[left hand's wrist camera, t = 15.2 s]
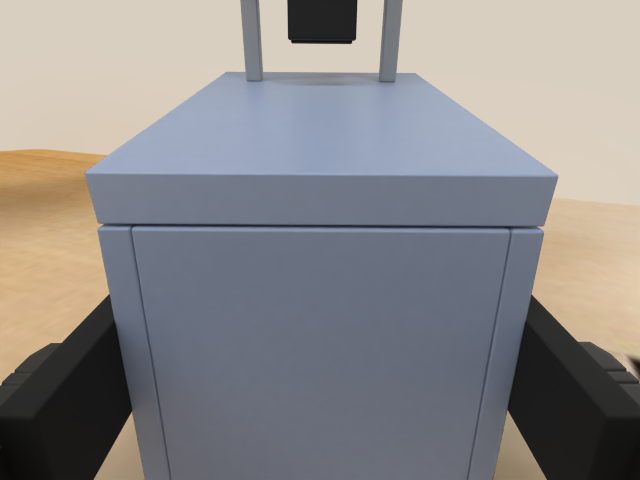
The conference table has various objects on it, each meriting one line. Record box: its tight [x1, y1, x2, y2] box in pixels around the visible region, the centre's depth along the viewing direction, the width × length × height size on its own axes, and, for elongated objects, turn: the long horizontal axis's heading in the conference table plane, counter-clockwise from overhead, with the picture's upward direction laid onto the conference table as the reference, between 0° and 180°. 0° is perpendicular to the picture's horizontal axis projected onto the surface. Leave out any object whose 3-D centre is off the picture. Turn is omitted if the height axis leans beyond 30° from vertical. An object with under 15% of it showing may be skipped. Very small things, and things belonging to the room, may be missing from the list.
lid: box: [85, 0, 558, 226], centre depth 14 cm, size 15×10×8 cm, turn 0°
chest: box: [98, 224, 544, 480], centre depth 18 cm, size 14×10×10 cm
